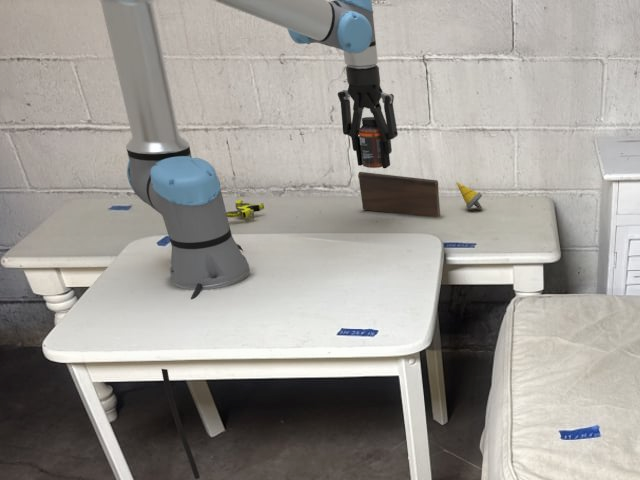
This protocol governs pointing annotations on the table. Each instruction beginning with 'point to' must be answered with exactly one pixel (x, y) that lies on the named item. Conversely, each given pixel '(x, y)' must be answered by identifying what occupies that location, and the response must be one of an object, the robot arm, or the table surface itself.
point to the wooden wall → (399, 194)
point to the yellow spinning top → (470, 196)
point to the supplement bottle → (370, 143)
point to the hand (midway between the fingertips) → (374, 165)
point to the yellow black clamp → (245, 209)
